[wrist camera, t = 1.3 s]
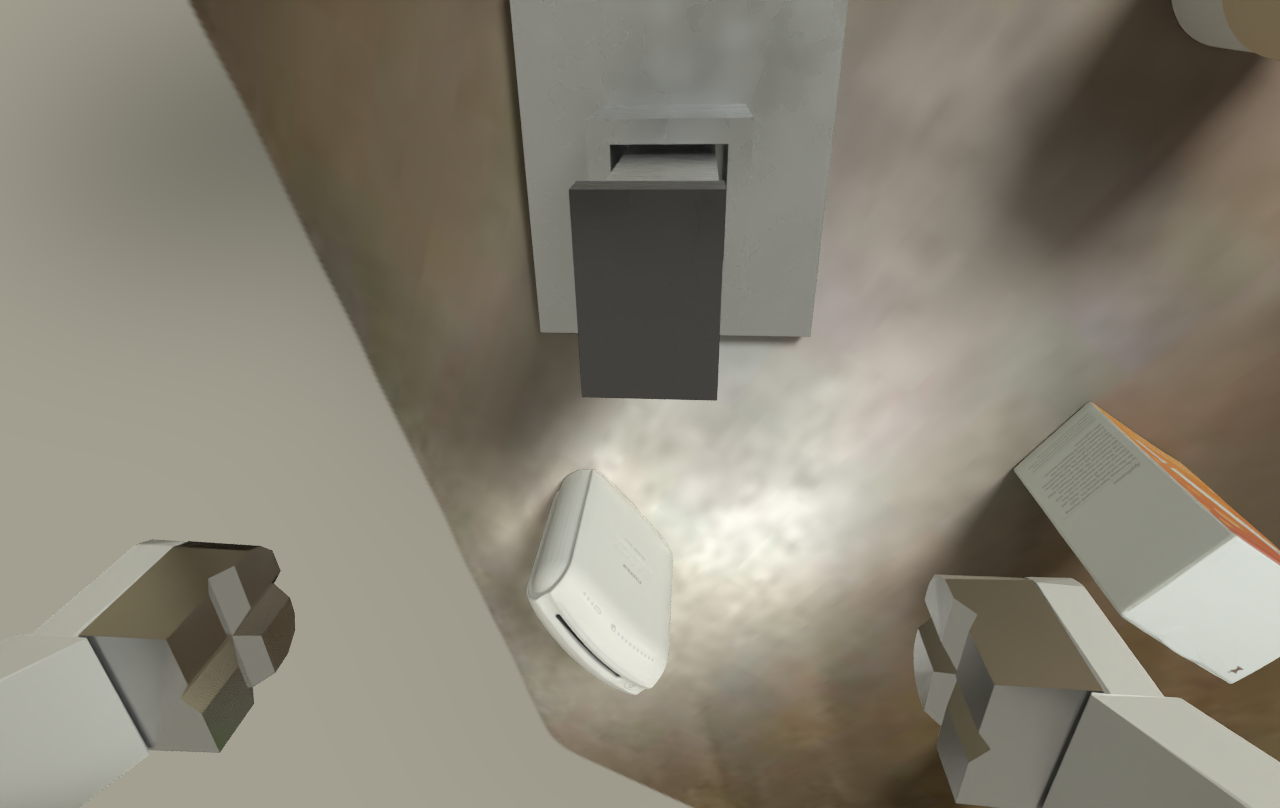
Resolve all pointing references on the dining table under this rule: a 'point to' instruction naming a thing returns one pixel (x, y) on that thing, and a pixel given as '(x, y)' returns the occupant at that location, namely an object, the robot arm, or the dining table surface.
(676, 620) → the dining table surface
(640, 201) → the column
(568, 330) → the stand base
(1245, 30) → the coffee cup
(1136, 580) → the small box
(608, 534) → the photo printer
